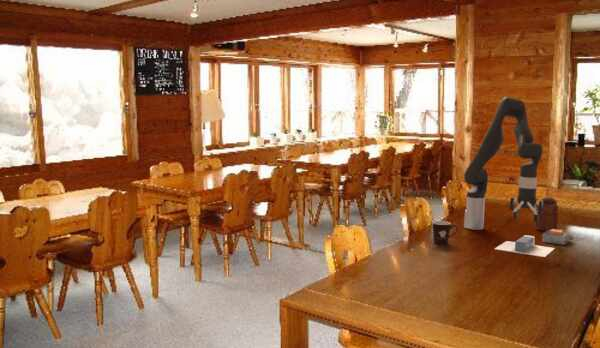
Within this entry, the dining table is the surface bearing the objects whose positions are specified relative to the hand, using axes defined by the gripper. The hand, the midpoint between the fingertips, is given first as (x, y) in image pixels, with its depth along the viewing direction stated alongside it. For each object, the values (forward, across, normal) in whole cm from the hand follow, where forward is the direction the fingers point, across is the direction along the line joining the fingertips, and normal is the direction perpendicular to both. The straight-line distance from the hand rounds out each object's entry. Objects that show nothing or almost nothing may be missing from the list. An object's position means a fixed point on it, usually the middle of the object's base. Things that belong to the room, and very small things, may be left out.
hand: (525, 221), depth 253 cm
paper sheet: (+13, 0, 0) cm, 13 cm away
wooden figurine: (+14, +2, -46) cm, 48 cm away
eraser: (+13, 0, 0) cm, 13 cm away
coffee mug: (+14, +34, +13) cm, 39 cm away
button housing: (+13, -8, -24) cm, 29 cm away
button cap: (+11, -8, -24) cm, 28 cm away
